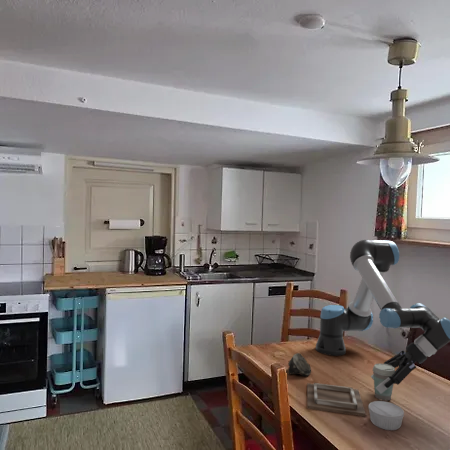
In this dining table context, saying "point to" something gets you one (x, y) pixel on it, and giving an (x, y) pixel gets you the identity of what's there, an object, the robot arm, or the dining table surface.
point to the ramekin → (385, 415)
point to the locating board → (334, 399)
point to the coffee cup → (380, 375)
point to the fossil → (299, 365)
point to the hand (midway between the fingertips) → (375, 384)
